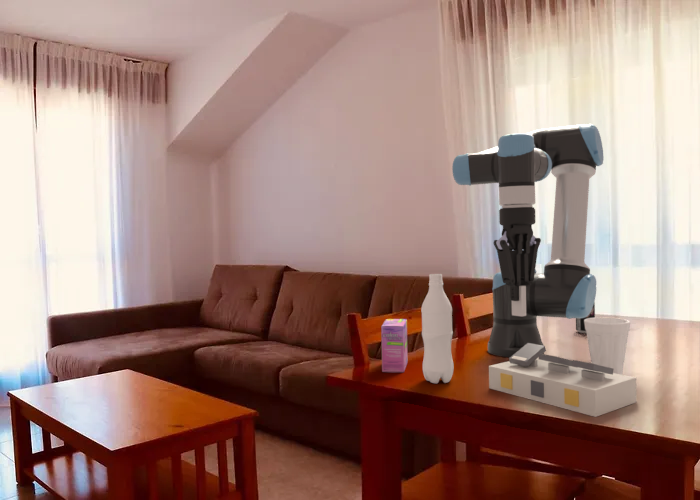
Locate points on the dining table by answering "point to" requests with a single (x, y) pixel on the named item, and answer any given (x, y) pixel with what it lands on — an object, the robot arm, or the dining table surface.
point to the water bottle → (437, 332)
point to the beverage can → (580, 321)
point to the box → (394, 345)
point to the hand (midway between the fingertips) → (519, 315)
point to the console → (564, 386)
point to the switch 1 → (527, 354)
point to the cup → (607, 341)
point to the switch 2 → (555, 359)
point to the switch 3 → (592, 367)
